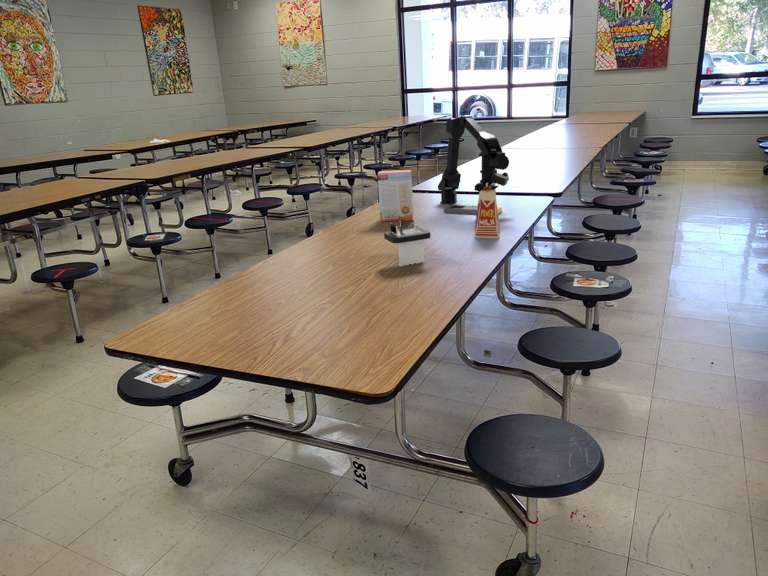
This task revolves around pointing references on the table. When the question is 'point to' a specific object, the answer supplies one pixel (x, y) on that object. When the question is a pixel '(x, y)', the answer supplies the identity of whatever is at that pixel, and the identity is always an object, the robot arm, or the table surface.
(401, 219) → the cracker box
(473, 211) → the rail
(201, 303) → the table surface
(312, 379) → the table surface
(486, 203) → the milk carton
